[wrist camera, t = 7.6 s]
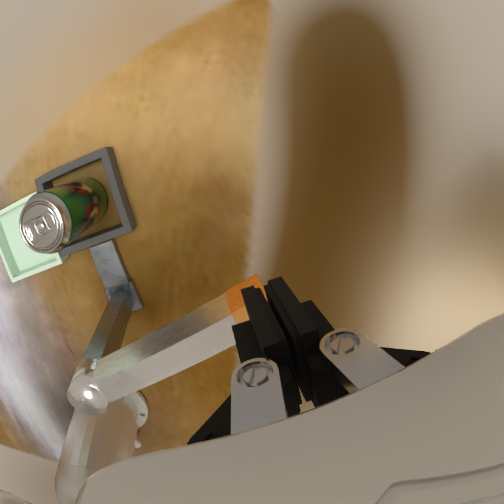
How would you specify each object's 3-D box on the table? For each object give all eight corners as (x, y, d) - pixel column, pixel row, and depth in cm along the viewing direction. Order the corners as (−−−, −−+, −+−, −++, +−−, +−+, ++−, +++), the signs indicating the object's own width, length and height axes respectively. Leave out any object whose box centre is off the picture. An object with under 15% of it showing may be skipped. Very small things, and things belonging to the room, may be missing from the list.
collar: (136, 225, 32) (132, 231, 30) (69, 250, 31) (61, 257, 29) (112, 147, 29) (106, 147, 27) (44, 177, 28) (34, 179, 26)
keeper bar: (95, 392, 21) (87, 419, 18) (69, 366, 20) (58, 392, 17) (273, 304, 22) (286, 328, 18) (253, 267, 20) (263, 288, 17)
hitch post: (143, 304, 35) (124, 384, 22) (117, 312, 35) (89, 390, 21) (116, 237, 32) (72, 292, 19) (89, 246, 32) (37, 303, 18)
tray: (70, 256, 31) (62, 263, 29) (21, 275, 31) (12, 282, 28) (46, 188, 28) (36, 191, 26) (-3, 213, 28) (-13, 218, 25)
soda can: (61, 190, 29) (6, 212, 18) (97, 169, 29) (50, 181, 18) (80, 230, 31) (33, 268, 20) (115, 210, 31) (78, 241, 20)
